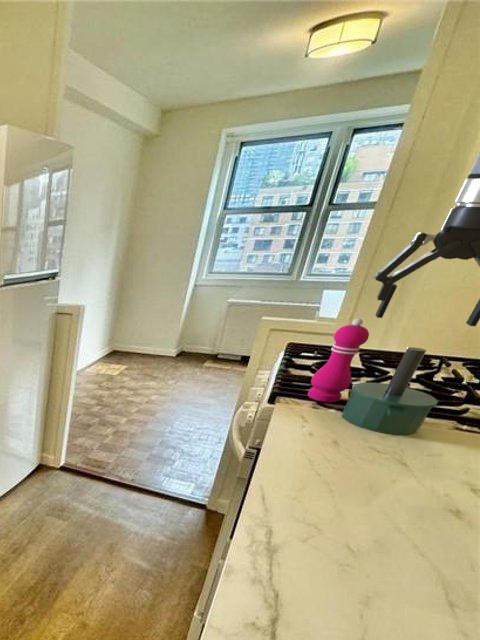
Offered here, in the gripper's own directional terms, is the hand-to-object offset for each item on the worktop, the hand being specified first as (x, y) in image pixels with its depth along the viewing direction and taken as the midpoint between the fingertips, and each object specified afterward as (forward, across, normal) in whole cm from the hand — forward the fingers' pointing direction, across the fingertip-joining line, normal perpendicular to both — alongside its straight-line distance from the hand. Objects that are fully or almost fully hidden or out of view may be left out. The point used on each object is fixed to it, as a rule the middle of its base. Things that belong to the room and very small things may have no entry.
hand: (422, 320), depth 99 cm
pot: (+23, +1, 0) cm, 23 cm away
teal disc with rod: (+16, +1, 0) cm, 16 cm away
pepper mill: (+23, -8, +11) cm, 27 cm away
